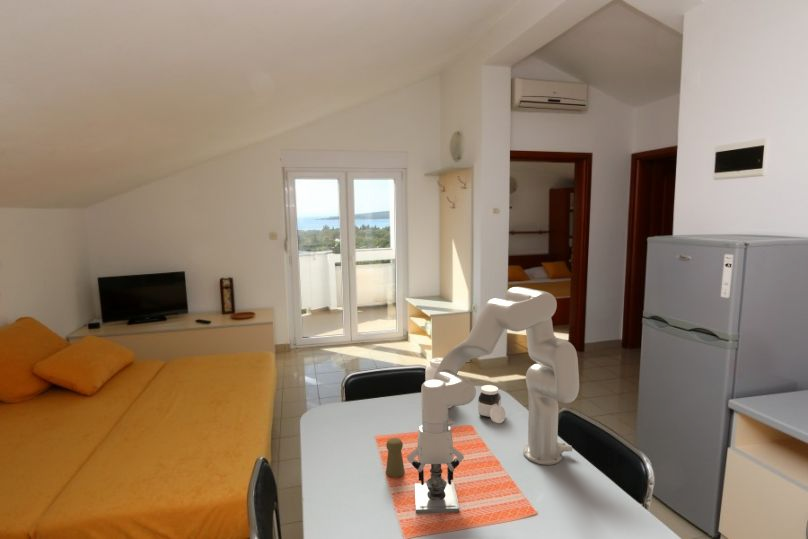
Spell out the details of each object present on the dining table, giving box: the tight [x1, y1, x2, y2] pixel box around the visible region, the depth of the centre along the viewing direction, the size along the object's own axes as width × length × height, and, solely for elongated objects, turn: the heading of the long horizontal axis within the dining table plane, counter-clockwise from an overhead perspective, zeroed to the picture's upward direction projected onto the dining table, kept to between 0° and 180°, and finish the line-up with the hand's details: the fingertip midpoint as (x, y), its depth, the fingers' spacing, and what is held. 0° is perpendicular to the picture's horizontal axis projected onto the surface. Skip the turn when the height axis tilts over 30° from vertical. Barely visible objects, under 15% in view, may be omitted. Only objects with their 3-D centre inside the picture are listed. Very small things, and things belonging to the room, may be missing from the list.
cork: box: [385, 437, 405, 479], centre depth 143 cm, size 6×6×11 cm
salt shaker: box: [425, 464, 447, 500], centre depth 129 cm, size 6×6×12 cm
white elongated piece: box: [424, 356, 453, 409], centre depth 193 cm, size 12×12×20 cm
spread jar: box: [477, 384, 507, 424], centre depth 180 cm, size 12×11×12 cm
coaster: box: [414, 482, 460, 514], centre depth 130 cm, size 12×12×1 cm
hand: (435, 481), depth 129 cm, fingers open, 7 cm apart
